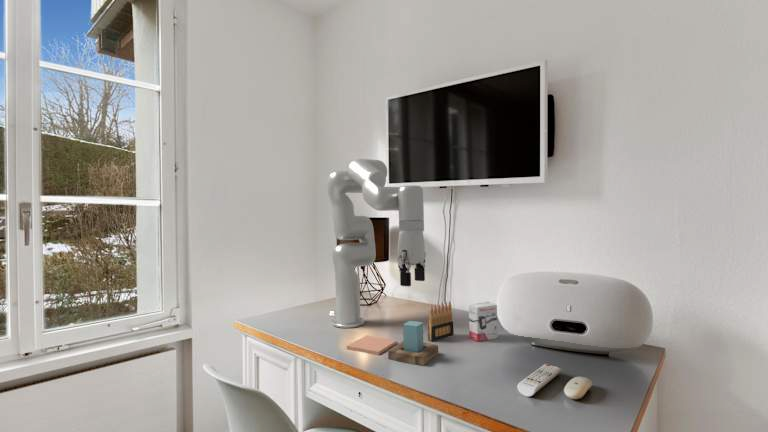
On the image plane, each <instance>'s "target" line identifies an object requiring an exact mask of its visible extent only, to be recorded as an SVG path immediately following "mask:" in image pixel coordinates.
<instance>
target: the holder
mask: <svg viewBox="0 0 768 432" xmlns="http://www.w3.org/2000/svg"><path fill="white" fill-rule="evenodd" d="M387 350H388V351H387V355H388V360H392V361H396V362H401V363H404V364H405V363H406V364H411V365H416V366H417V365H419V366H422V367H423V366H425V365H426V364H428V363H429V362H430V361H431V360H432V359H434V357H436V356H437V355H438V354H439V345H438V344H431V343H429V342H428V343H427V342H423V350H422V351H421V352H420V353H415V352H410V351H404V343H403V340H402V341H401V342H400V343H397V344H395V345H394V346H392V347H391V348H389V349H387Z"/></svg>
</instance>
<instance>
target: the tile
mask: <svg viewBox="0 0 768 432" xmlns="http://www.w3.org/2000/svg"><path fill="white" fill-rule="evenodd" d="M396 345H398V340H397V339H392V338H391V339H390V338H385V337H379V336H372V335H365V336H362V337H361V338H359V339H356V340H355V341H353V342H352V343H349V344H347V345H346V350H352V351H357V352H361V353H366V354H372V355H377V356H379V355H381V354H383V353H384V352H386V351H387V350H390V349H391V348H393V347H395V346H396Z"/></svg>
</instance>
